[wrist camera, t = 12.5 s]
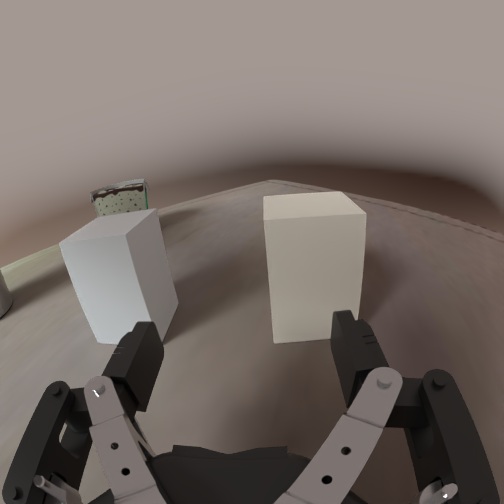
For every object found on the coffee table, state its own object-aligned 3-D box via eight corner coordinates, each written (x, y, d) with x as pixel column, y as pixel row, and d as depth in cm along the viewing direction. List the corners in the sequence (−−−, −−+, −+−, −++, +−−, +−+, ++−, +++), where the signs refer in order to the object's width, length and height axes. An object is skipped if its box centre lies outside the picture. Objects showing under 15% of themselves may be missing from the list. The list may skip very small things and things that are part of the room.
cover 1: (98, 343, 23) (58, 243, 19) (123, 304, 29) (97, 217, 25) (160, 346, 22) (125, 234, 18) (178, 303, 28) (156, 208, 24)
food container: (164, 223, 56) (155, 175, 52) (156, 233, 50) (146, 180, 46) (111, 231, 56) (101, 186, 52) (100, 242, 50) (88, 192, 46)
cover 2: (273, 343, 22) (263, 220, 18) (272, 298, 28) (263, 196, 24) (355, 335, 21) (366, 213, 17) (338, 292, 27) (340, 191, 23)
